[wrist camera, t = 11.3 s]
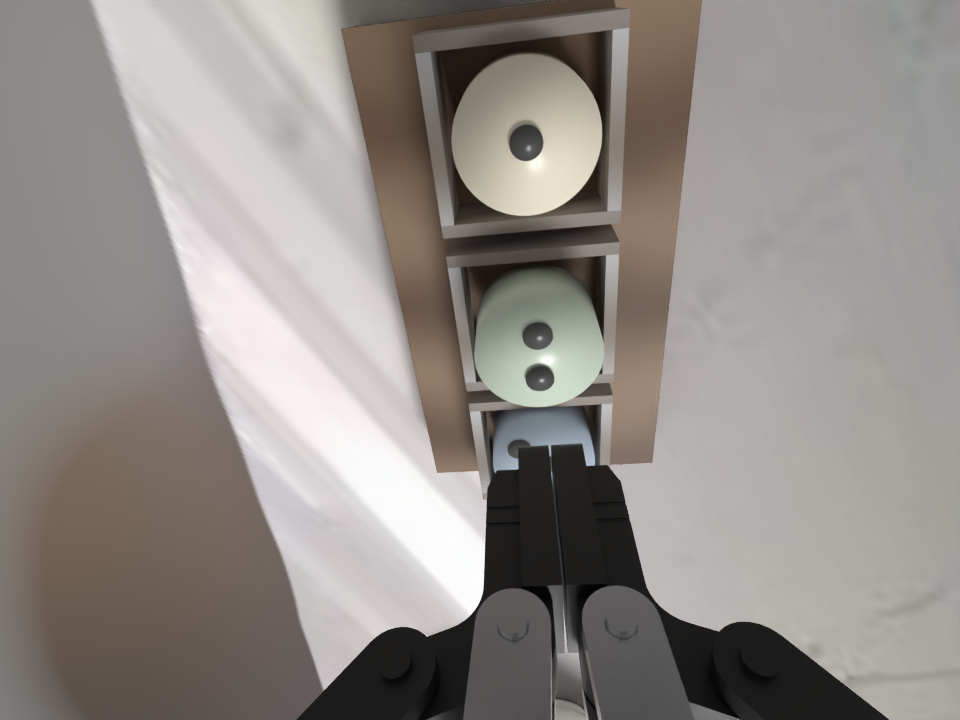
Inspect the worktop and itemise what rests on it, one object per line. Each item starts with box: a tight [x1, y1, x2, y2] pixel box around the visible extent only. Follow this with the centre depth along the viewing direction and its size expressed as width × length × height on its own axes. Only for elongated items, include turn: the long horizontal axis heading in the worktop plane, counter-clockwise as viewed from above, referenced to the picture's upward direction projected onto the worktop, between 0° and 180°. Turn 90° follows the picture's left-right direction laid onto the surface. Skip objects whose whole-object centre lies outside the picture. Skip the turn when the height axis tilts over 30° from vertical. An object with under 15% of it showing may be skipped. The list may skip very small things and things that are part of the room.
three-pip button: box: [493, 405, 595, 475], centre depth 22 cm, size 4×4×3 cm
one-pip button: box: [451, 48, 602, 216], centre depth 15 cm, size 4×4×3 cm
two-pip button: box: [474, 264, 604, 407], centre depth 17 cm, size 4×4×3 cm
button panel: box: [341, 0, 702, 499], centre depth 20 cm, size 18×10×4 cm, turn 6°
